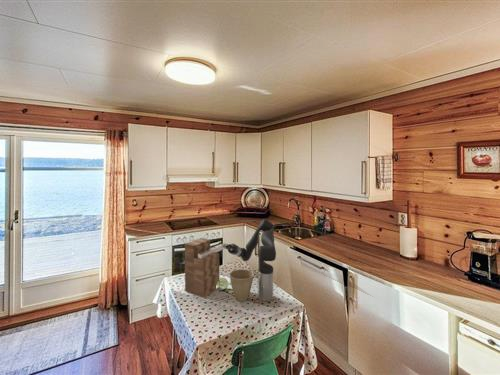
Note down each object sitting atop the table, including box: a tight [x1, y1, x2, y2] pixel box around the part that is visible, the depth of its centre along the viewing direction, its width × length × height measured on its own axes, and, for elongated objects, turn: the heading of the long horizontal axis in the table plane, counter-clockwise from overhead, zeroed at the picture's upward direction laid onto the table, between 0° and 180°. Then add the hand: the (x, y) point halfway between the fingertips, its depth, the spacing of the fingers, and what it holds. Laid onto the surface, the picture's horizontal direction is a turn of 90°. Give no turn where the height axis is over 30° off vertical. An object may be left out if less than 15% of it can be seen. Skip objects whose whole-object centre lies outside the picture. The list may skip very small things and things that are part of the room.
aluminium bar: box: [198, 243, 225, 259], centre depth 166 cm, size 24×3×3 cm, turn 149°
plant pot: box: [229, 268, 255, 303], centre depth 154 cm, size 15×15×16 cm
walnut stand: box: [184, 237, 220, 299], centre depth 165 cm, size 16×16×32 cm
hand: (223, 244), depth 178 cm, fingers open, 8 cm apart
